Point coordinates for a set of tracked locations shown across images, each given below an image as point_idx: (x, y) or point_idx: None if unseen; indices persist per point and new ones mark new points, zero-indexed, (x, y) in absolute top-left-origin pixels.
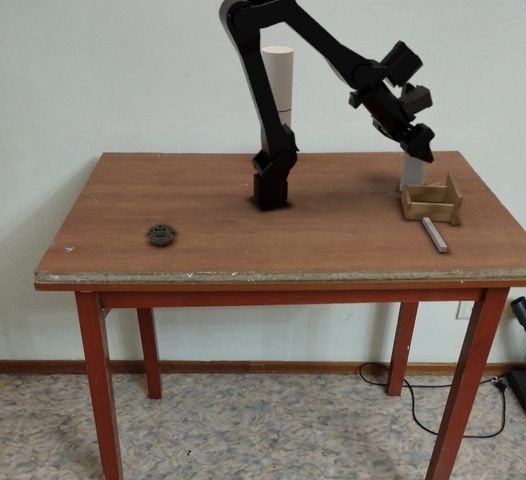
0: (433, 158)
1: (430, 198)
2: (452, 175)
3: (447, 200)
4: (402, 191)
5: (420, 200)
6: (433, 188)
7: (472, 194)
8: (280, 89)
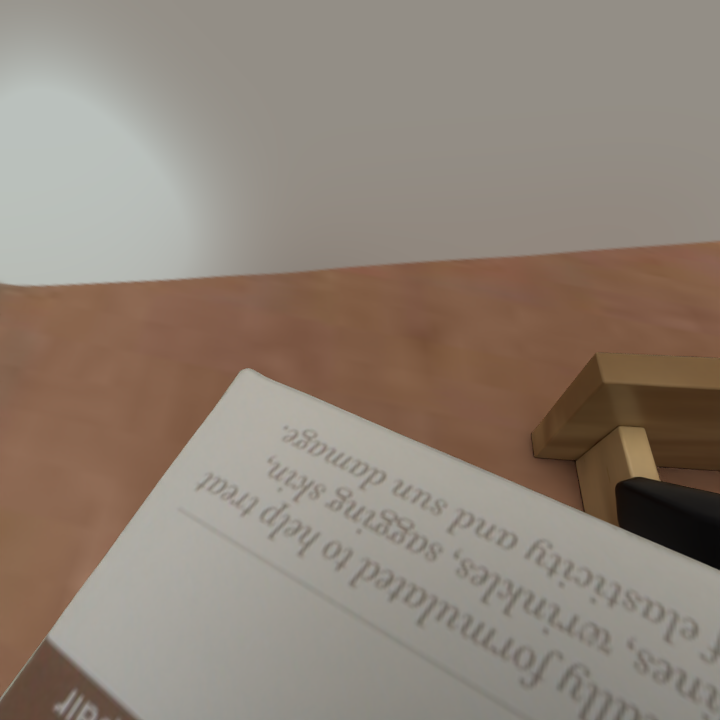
0: (666, 486)
1: None
2: (678, 366)
3: (700, 452)
4: None
5: None
6: None
7: (452, 313)
8: None
